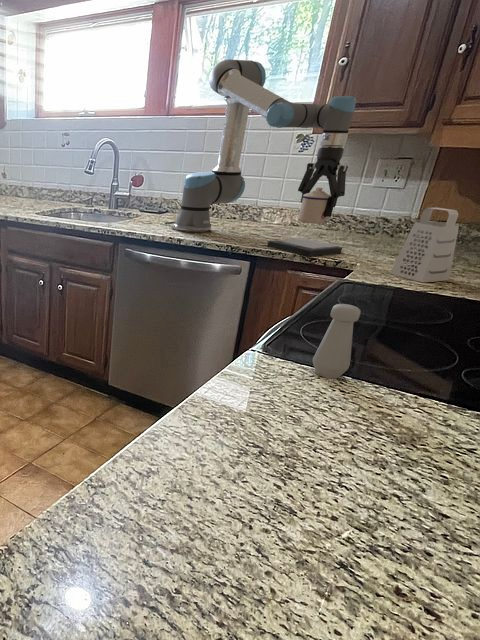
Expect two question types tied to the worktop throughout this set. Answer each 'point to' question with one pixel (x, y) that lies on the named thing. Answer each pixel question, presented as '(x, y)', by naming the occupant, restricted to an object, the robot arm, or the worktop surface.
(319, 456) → the worktop surface
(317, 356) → the salt shaker
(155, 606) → the worktop surface
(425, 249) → the grater
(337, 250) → the scale
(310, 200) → the teacup with lid
